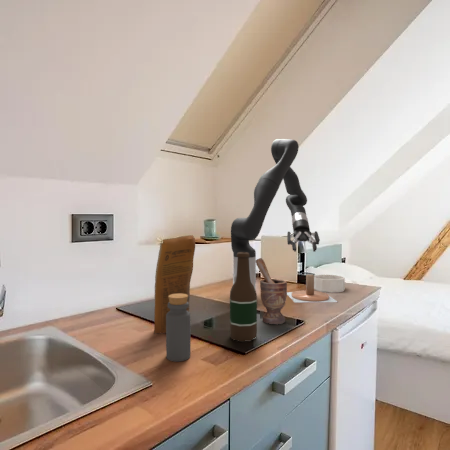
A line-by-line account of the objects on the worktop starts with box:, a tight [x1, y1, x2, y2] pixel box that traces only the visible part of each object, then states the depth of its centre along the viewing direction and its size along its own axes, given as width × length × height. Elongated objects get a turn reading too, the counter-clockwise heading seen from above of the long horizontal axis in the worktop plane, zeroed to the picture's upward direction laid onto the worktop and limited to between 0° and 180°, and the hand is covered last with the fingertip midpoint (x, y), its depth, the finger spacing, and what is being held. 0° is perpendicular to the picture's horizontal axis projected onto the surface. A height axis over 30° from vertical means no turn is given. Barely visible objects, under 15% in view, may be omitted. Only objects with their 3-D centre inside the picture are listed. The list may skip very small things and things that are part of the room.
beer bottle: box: [229, 252, 258, 341], centre depth 94 cm, size 8×8×24 cm
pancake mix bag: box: [153, 234, 196, 335], centre depth 103 cm, size 7×19×28 cm, turn 148°
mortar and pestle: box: [256, 257, 288, 325], centre depth 110 cm, size 12×9×20 cm
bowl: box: [314, 274, 346, 293], centre depth 154 cm, size 13×13×6 cm
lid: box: [291, 273, 330, 301], centre depth 139 cm, size 15×15×9 cm
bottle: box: [165, 293, 191, 362], centre depth 82 cm, size 6×6×15 cm
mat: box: [287, 291, 338, 304], centre depth 139 cm, size 17×17×1 cm
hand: (305, 250), depth 150 cm, fingers open, 8 cm apart
